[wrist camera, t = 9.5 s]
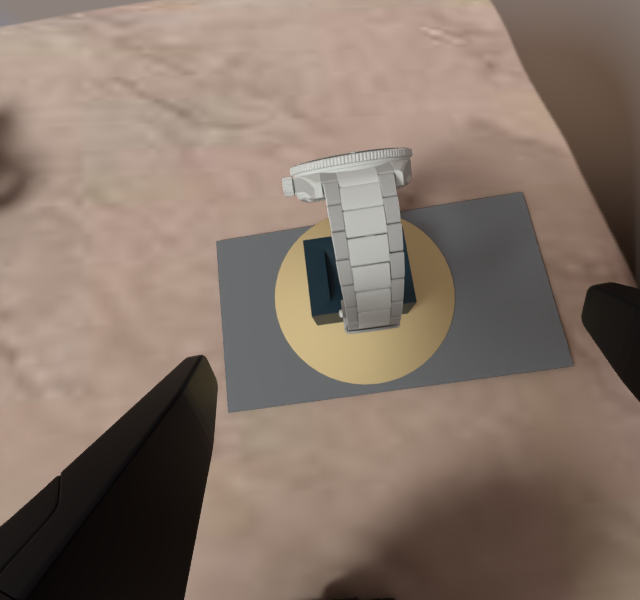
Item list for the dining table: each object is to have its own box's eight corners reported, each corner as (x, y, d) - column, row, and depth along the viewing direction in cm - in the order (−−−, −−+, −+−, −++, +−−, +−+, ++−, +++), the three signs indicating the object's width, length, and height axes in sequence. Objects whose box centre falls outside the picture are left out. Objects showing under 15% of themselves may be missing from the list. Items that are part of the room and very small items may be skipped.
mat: (570, 366, 21) (574, 365, 20) (229, 412, 22) (227, 412, 21) (518, 187, 23) (520, 183, 23) (217, 236, 24) (215, 233, 24)
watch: (390, 218, 23) (423, 77, 13) (413, 342, 21) (473, 301, 11) (304, 231, 24) (264, 104, 13) (319, 354, 22) (287, 326, 11)
